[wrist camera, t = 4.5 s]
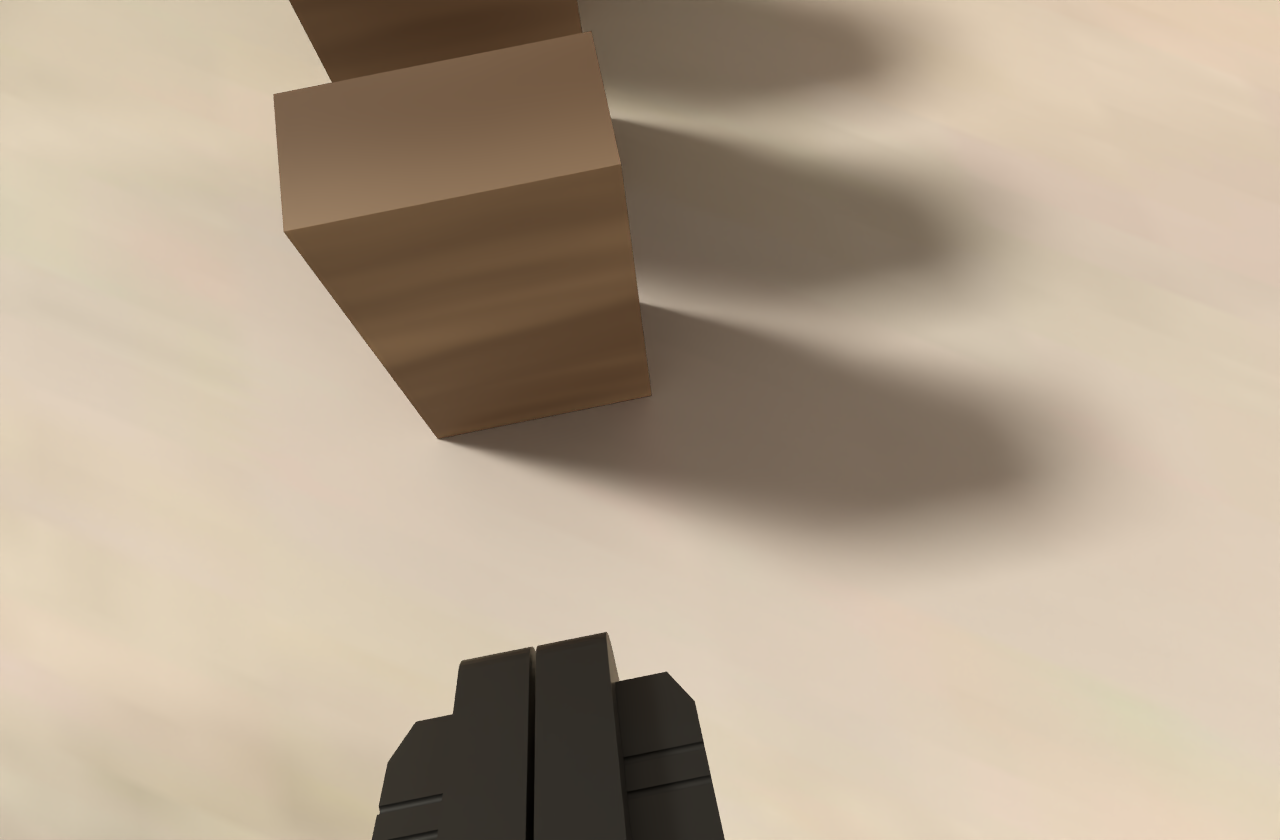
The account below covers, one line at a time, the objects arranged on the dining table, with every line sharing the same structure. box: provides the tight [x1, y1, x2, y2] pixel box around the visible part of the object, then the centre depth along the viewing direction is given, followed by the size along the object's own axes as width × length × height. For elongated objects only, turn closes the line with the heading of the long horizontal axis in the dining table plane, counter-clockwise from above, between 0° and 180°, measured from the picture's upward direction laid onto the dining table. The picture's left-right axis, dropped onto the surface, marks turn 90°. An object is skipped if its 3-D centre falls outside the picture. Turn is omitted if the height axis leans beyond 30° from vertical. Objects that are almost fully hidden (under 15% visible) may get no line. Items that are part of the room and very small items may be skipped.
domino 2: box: [273, 31, 651, 439], centre depth 19 cm, size 2×5×9 cm, turn 101°
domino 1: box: [289, 0, 582, 83], centre depth 21 cm, size 2×5×9 cm, turn 101°
